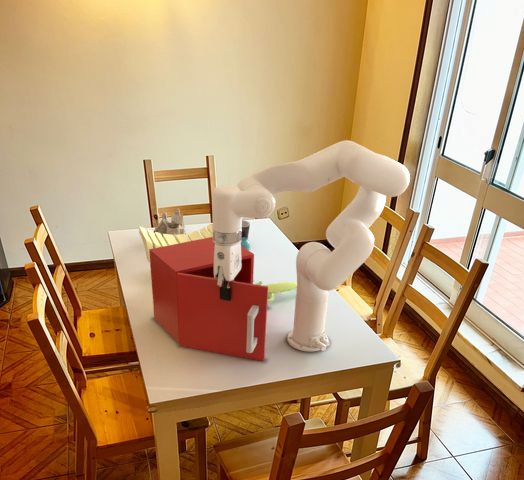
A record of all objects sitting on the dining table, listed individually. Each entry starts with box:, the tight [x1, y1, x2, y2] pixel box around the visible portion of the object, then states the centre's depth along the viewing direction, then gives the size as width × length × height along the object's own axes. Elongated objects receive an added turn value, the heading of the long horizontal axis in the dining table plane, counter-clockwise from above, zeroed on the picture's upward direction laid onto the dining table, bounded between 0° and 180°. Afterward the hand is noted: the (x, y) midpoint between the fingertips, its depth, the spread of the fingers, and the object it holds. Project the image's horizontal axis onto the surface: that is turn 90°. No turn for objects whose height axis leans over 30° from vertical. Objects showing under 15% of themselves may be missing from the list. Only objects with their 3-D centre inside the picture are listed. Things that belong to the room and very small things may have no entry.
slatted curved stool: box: [138, 223, 213, 263], centre depth 202 cm, size 30×16×18 cm, turn 111°
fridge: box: [149, 237, 255, 345], centre depth 173 cm, size 18×26×24 cm
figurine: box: [255, 281, 297, 309], centre depth 192 cm, size 18×27×6 cm
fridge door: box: [177, 273, 269, 362], centre depth 155 cm, size 7×26×24 cm, turn 75°
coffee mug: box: [242, 219, 251, 240], centre depth 231 cm, size 12×9×10 cm
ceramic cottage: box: [153, 207, 187, 244], centre depth 226 cm, size 16×16×15 cm
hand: (226, 297), depth 153 cm, fingers closed
